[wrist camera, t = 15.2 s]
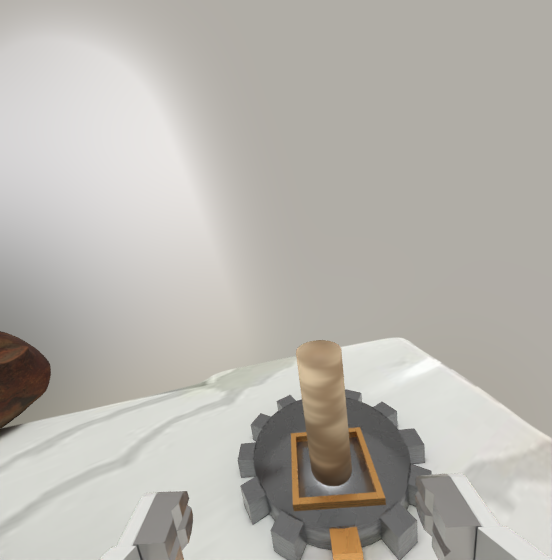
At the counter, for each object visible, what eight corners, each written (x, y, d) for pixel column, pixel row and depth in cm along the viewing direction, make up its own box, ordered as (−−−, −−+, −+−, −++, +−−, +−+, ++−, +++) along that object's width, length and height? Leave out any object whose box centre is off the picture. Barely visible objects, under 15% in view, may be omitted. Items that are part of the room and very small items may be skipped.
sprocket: (223, 583, 23) (216, 554, 22) (253, 408, 44) (249, 391, 43) (485, 568, 21) (486, 537, 21) (386, 395, 43) (385, 377, 42)
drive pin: (313, 487, 27) (296, 364, 24) (309, 451, 32) (295, 342, 28) (356, 484, 27) (345, 359, 24) (346, 448, 31) (336, 338, 28)
